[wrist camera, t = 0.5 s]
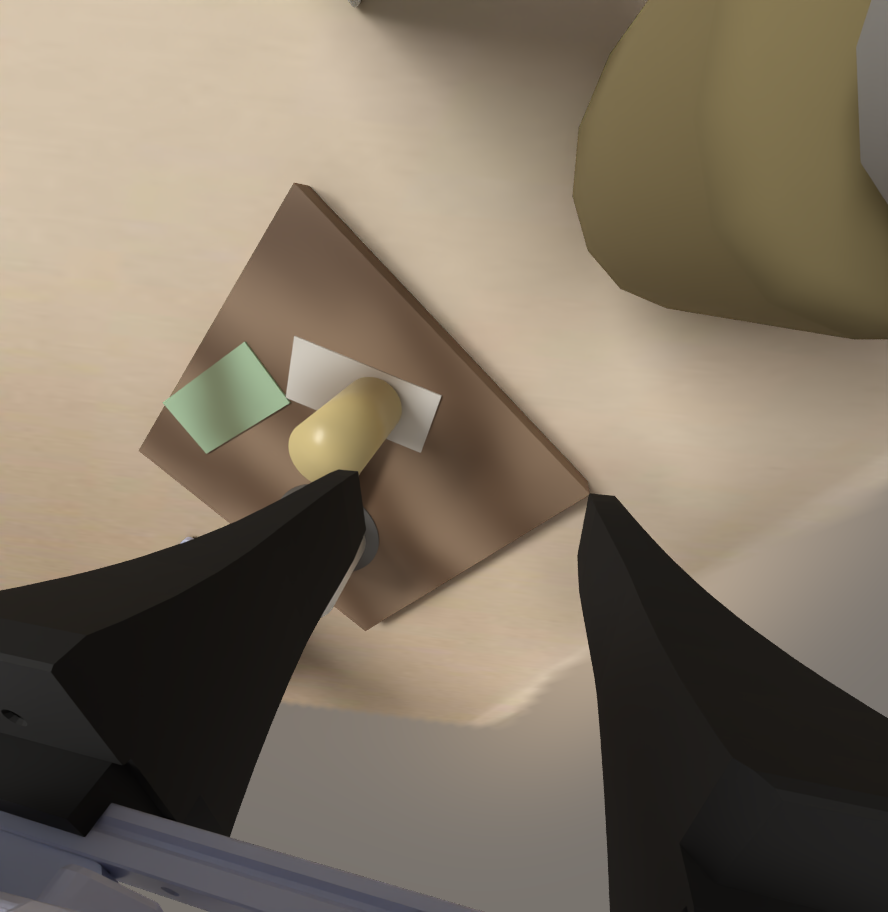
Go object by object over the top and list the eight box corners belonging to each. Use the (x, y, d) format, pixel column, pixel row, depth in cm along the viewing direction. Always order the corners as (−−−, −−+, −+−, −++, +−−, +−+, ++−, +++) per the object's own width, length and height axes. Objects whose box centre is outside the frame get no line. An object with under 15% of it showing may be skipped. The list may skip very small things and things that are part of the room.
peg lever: (351, 578, 25) (312, 649, 21) (277, 542, 25) (222, 607, 20) (432, 405, 18) (399, 457, 14) (332, 355, 18) (268, 392, 14)
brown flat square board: (371, 616, 29) (364, 632, 27) (153, 440, 25) (135, 450, 24) (587, 481, 20) (590, 495, 19) (307, 183, 16) (289, 179, 15)
